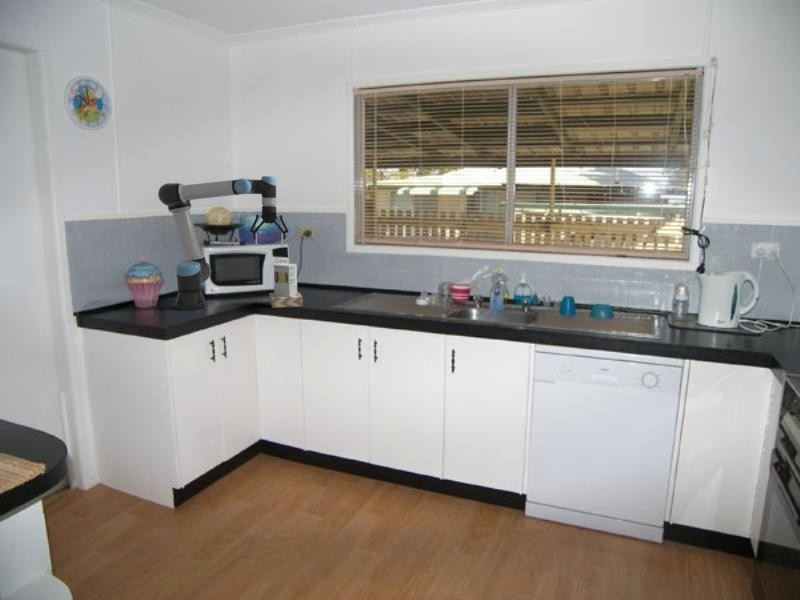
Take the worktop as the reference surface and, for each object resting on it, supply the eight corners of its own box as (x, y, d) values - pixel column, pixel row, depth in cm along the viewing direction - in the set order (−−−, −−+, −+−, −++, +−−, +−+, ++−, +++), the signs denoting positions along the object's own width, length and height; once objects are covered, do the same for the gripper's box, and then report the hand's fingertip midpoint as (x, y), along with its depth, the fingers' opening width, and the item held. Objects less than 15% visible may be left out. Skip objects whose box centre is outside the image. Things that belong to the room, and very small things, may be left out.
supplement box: (273, 295, 303) (272, 264, 300) (282, 293, 312) (281, 262, 309) (290, 297, 301) (289, 265, 297) (297, 294, 309) (297, 263, 306)
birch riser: (272, 307, 297) (272, 298, 296) (269, 301, 312) (269, 293, 311) (302, 306, 302) (302, 297, 301) (299, 300, 317) (298, 291, 316)
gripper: (244, 205, 294) (245, 246, 298) (293, 206, 301) (293, 246, 305) (244, 204, 301) (245, 244, 305) (292, 206, 308) (292, 245, 312)
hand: (269, 245), depth 305 cm, fingers open, 13 cm apart
